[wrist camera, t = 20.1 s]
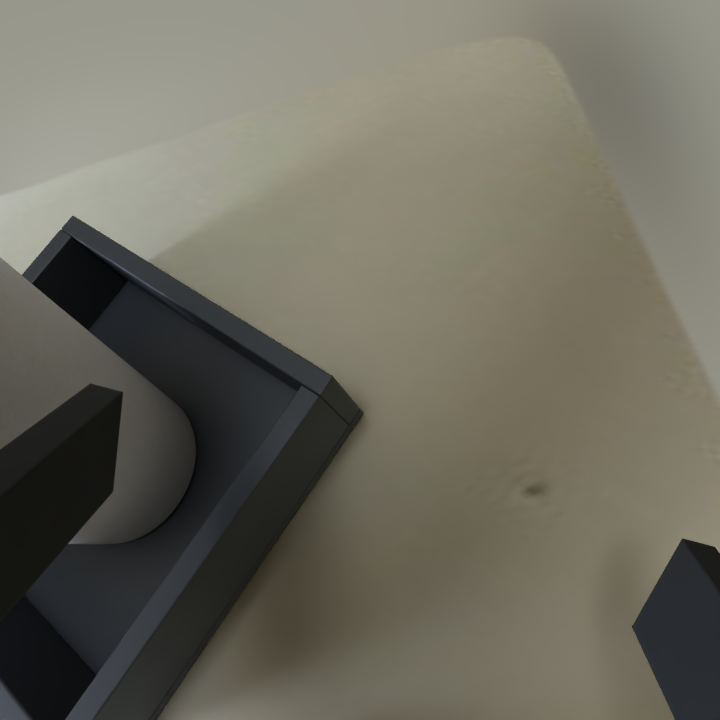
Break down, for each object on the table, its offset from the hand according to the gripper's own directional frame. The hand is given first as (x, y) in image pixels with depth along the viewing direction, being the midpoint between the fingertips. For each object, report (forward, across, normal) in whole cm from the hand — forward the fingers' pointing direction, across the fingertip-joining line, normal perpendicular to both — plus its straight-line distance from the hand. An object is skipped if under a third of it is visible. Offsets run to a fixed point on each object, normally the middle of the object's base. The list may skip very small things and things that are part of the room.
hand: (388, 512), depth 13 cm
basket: (+10, -10, -8) cm, 16 cm away
